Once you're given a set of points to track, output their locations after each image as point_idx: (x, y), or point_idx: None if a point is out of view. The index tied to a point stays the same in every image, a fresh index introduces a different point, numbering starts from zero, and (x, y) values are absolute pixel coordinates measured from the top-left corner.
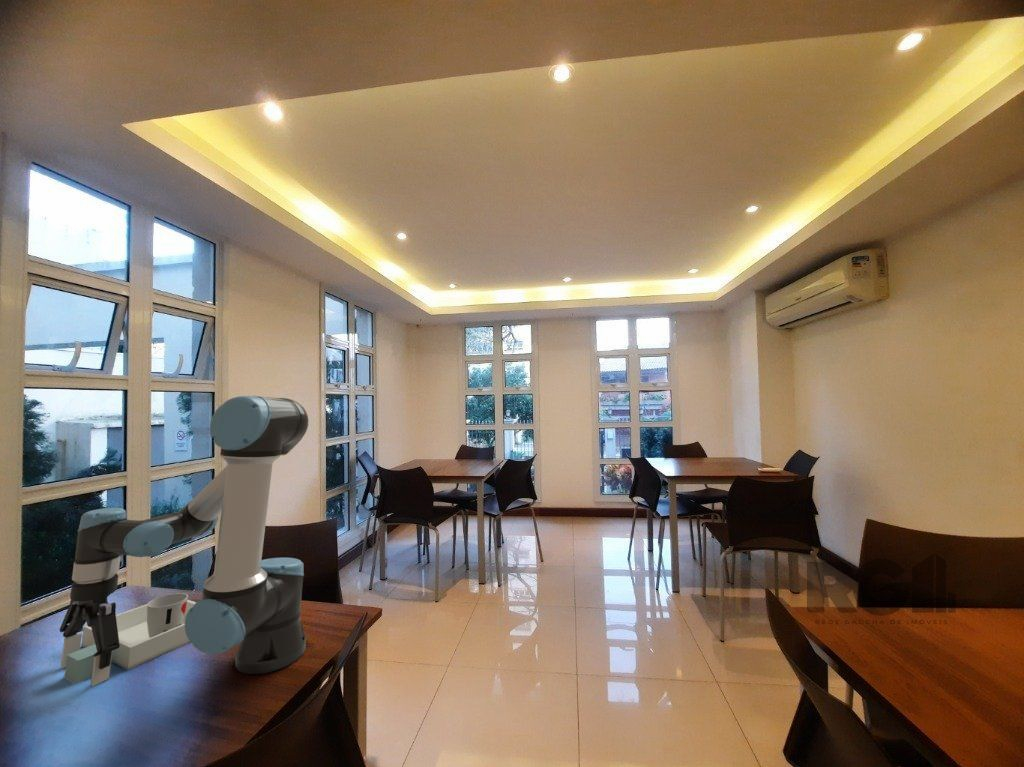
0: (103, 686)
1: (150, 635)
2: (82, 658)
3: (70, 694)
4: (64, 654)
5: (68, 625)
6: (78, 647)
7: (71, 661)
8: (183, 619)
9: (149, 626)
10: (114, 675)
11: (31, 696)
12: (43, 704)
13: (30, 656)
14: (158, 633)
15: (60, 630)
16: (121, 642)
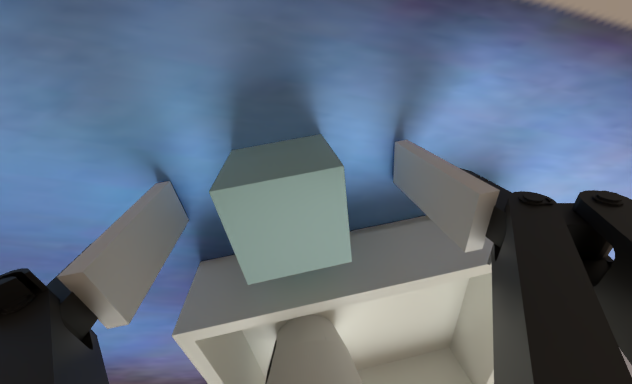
0: (132, 204)
1: (300, 345)
2: (222, 208)
3: (151, 123)
4: (423, 161)
5: (578, 262)
6: (423, 206)
7: (285, 168)
8: (380, 360)
9: (304, 381)
10: (195, 234)
11: (261, 18)
12: (132, 34)
13: (598, 92)
14: (275, 366)
15: (602, 196)
16: (261, 318)
